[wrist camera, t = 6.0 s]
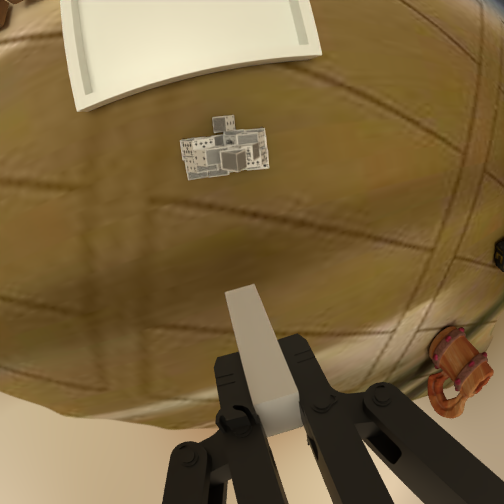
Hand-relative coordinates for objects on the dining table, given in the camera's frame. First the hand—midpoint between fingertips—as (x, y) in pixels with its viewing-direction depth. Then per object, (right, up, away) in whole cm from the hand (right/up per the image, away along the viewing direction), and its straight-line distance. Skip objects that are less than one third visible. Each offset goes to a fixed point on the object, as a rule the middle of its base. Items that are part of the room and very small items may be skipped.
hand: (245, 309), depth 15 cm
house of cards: (-2, +14, +9) cm, 17 cm away
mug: (+36, -16, +33) cm, 51 cm away
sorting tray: (-6, +26, +2) cm, 27 cm away
